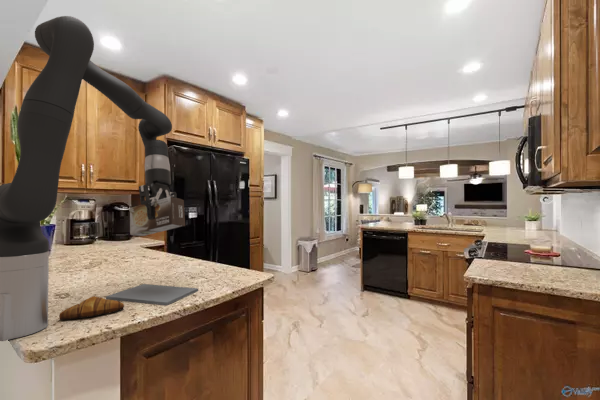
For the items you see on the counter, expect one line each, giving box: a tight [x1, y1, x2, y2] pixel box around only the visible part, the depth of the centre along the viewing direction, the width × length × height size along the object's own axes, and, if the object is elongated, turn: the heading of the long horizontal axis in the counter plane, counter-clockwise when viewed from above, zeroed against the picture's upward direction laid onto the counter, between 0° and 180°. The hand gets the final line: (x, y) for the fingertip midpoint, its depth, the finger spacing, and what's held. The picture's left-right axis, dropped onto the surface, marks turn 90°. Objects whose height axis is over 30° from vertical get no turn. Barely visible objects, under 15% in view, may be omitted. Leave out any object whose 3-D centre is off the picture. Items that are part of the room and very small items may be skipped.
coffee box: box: [129, 197, 186, 237], centre depth 91 cm, size 9×6×16 cm
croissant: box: [58, 295, 125, 321], centre depth 73 cm, size 14×7×5 cm, turn 120°
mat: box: [105, 283, 199, 306], centre depth 88 cm, size 14×22×1 cm, turn 74°
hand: (160, 220), depth 91 cm, fingers closed on coffee box, 6 cm apart
